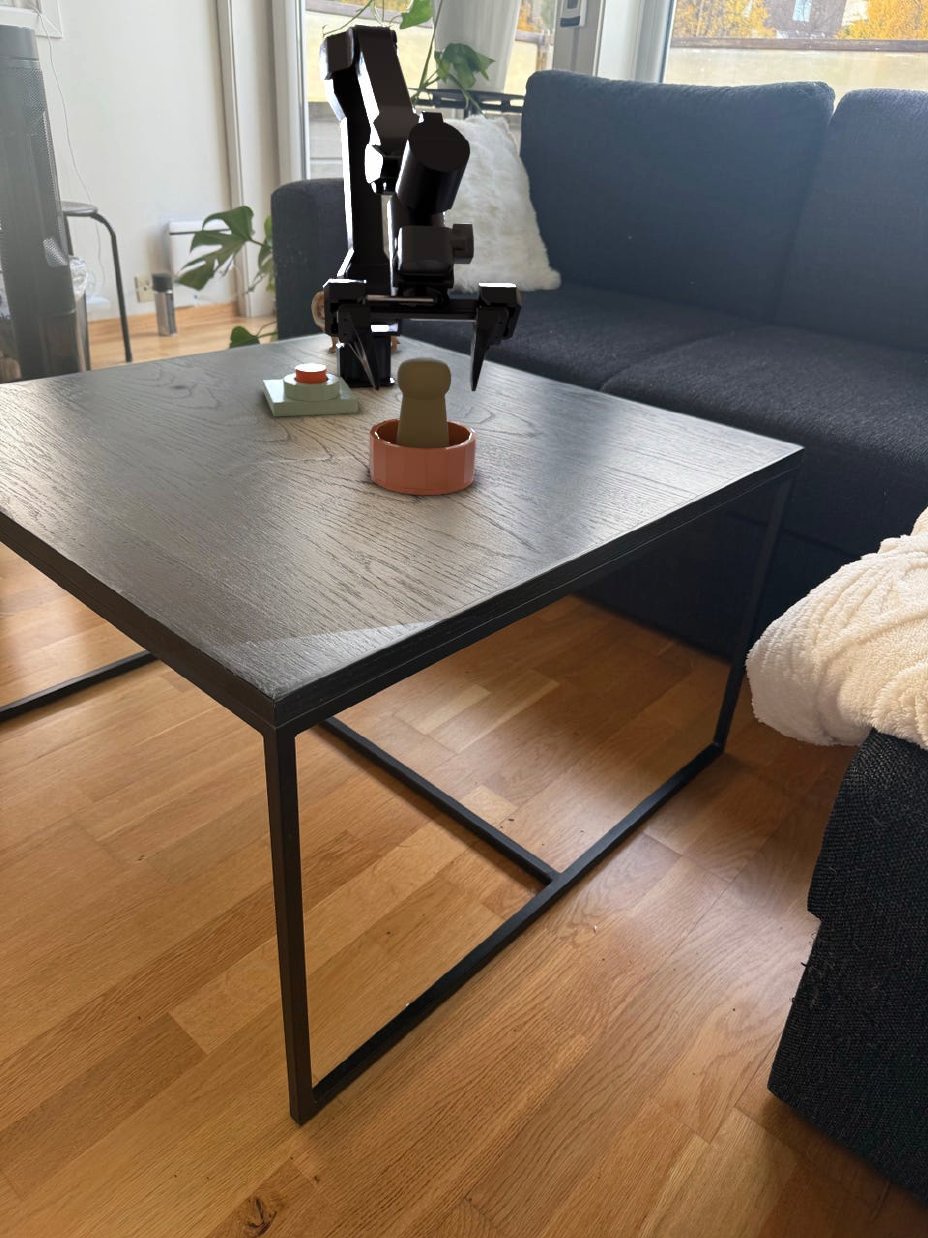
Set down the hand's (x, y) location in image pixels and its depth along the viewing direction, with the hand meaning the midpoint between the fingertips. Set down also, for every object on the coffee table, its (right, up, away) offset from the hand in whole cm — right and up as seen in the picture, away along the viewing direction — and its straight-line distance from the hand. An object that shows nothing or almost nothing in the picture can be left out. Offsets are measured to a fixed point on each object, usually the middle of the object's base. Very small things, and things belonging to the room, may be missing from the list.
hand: (426, 388), depth 84 cm
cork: (-1, -7, +6) cm, 9 cm away
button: (-15, +7, +23) cm, 28 cm away
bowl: (-1, -7, +6) cm, 9 cm away
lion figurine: (-13, +18, +50) cm, 54 cm away
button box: (-16, +5, +26) cm, 31 cm away
